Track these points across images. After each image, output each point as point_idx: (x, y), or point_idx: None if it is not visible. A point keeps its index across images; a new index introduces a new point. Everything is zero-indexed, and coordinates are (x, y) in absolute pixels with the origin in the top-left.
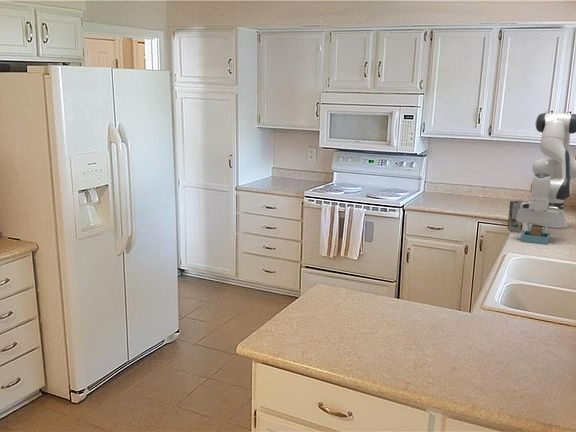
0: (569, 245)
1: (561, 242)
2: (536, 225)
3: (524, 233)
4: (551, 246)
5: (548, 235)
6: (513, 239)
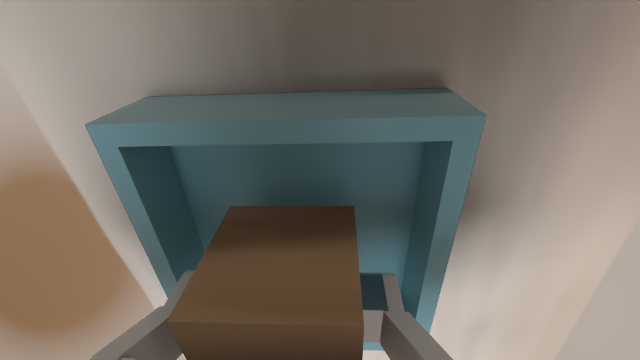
0: (608, 236)
1: (568, 144)
2: (258, 353)
3: (172, 255)
4: (434, 324)
5: (435, 267)
6: (142, 257)
